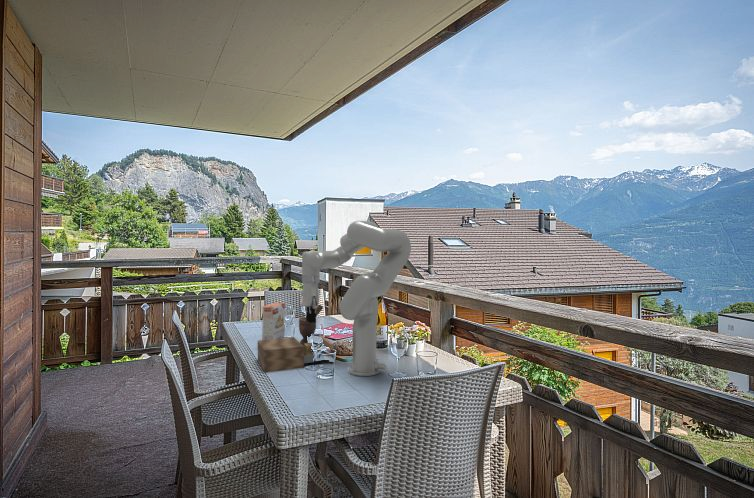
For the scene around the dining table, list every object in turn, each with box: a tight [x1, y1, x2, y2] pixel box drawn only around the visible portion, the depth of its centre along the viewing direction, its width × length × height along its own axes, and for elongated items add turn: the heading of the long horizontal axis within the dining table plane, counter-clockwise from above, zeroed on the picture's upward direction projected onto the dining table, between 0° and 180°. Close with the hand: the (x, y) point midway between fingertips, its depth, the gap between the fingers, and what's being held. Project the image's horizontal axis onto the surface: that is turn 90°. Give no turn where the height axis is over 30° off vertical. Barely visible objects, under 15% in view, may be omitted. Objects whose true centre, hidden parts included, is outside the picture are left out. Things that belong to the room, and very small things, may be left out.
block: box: [304, 343, 313, 356], centre depth 188 cm, size 5×5×5 cm
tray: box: [304, 334, 335, 364], centre depth 187 cm, size 16×18×8 cm
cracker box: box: [261, 302, 286, 340], centre depth 211 cm, size 14×6×21 cm, turn 168°
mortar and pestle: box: [298, 304, 324, 346], centre depth 217 cm, size 12×9×20 cm
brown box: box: [257, 336, 305, 373], centre depth 182 cm, size 16×18×9 cm
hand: (311, 321), depth 187 cm, fingers open, 3 cm apart
